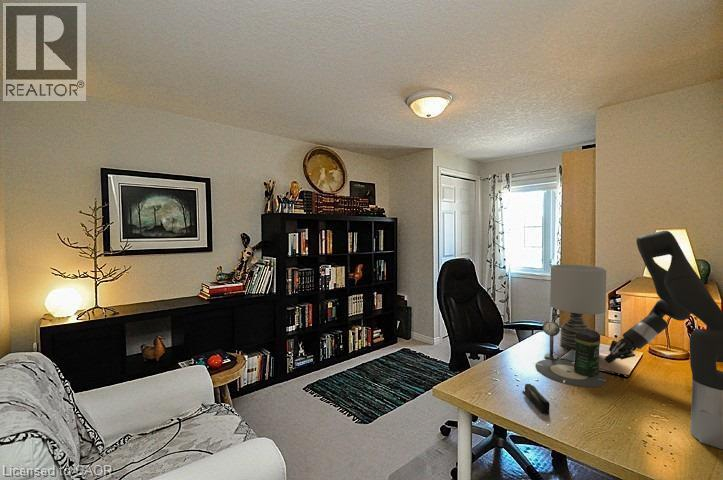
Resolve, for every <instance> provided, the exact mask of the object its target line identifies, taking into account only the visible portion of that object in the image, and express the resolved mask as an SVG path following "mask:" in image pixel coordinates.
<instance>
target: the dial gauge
mask: <svg viewBox="0 0 723 480" xmlns="http://www.w3.org/2000/svg"><path fill="white" fill-rule="evenodd" d="M542 330H543V332H544V333H545V334H546V335H548V336H549V352H546V353H545V355H544V359H545V360H547V359H552V360H557V359H558V358H559V355H557V354H554V339H555V338H554V337H555V336H557V335H558V334H559V333H560V332H561V326H560V325H559V324H558V323H557V322H556V321H553V320H547V321H545V322H544V323H543V324H542ZM558 360H559V359H558Z"/></svg>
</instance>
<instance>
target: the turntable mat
mask: <svg viewBox="0 0 723 480" xmlns="http://www.w3.org/2000/svg"><path fill="white" fill-rule="evenodd" d="M569 361H570V360H565V359H557V360H552V359H542V360H539V361H537V362H536V363H535V364H534V365H535V366H534V367H535V370H536V371H537V372H538V373H540V374H541V375H542V376H544V377H546V378H548V379H550V380H551V381H555V382H558V383H561V384H565V385H569V386H572V387H573V386H575V387H581V388H582V387H583V388H596V387H597V388H598V387H601V386H603V385H605V384H606V383H607V378H606V376H605V375H604V374H603V373H602V372H600V371H599V374H598V375H596V376H593V377H589V376H583V375H581V374H579V373H577V372H576V371H575V370H574V362H575V361H572V362H569Z"/></svg>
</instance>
